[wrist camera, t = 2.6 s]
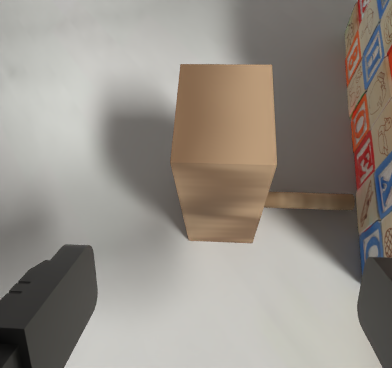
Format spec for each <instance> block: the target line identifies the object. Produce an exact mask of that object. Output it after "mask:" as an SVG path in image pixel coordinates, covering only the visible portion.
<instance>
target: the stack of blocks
mask: <svg viewBox="0 0 392 368" xmlns="http://www.w3.org/2000/svg"><path fill="white" fill-rule="evenodd" d="M345 48H346V59H345V64H346V79H347V98H348V110H349V118H350V119H351V128H352V142H353V152H354V154H355V172H356V184H357V192H356V206H357V221H358V232H359V236H360V256H361V268H362V275H363V270H364V265H365V261H366V259H367V258H368V257H388V258H392V0H358V2H357V3H356V4H355V6H354V9H353V12H352V15H351V17H350V20H349V23H348V26H347V29H346V31H345Z"/></svg>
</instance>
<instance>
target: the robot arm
mask: <svg viewBox="0 0 392 368" xmlns="http://www.w3.org/2000/svg"><path fill="white" fill-rule="evenodd" d="M96 302H97V281H96V272H95V262H94V253H93V249H92V247H91V246H90V245H64V246H62V248H61V249H60V250H59V251H58V252H57V253H56V254H55V255H54V257H53V258H52V259H51V260H45V261H43V262H42V263H40V264H38V265H37V266H35V267H33V268H31V269H30V270H29V271H28V272H27V273H26V274H25V275H24V276H23V277H22V278H21V279H20V280H19V282H18V284H17V283H16V284H15V285H14V286H13V288H12V289H11V290H10V291H9V293H7V294H6V295H5V296H4V297H3V298H2V299H1V300H0V368H64V366H65V365H66V363H67V361H68V359H69V357H70V355H71V353H72V351H73V349H74V348H75V346H76V344H77V342H78V340H79V338H80V336H81V334H82V332H83V330H84V329H85V327H86V325H87V323H88V321H89V319H90V317H91V315H92V313H93V311H94V309H95V306H96ZM357 311H358V318H359V322H360V325H361V327H362V329H363V331H364V333H365V335H366V336H367V338H368V340H369V342H370V344H371V346H372V348H373V350H374V352H375V354H376V355H377V357H378V359H379V361H380V363H381V365H382V367H383V368H392V258H388V257H368V258H367V259H366V261H365V265H364V270H363V275H362V281H361V286H360V292H359V298H358V304H357Z"/></svg>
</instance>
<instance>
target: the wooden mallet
mask: <svg viewBox="0 0 392 368" xmlns="http://www.w3.org/2000/svg"><path fill="white" fill-rule="evenodd" d="M170 164H171V168H172V172H173V176H174V180H175V184H176V189H177V193H178V197H179V201H180V205H181V210H182V214H183V218H184V222H185V226H186V231H187V235H188V239H189V241H211V242H235V243H252V242H253V239H254V236H255V233H256V230H257V227H258V224H259V220H260V217H261V214H262V211H263V208H264V207H266V208H295V209H325V210H353V209H354V206H355V199H354V196H353V194H330V193H297V192H269V189H270V186H271V183H272V180H273V176H274V173H275V170H276V167H277V154H276V134H275V114H274V94H273V74H272V65H224V64H181V65H180V74H179V84H178V93H177V103H176V112H175V122H174V131H173V141H172V151H171V160H170Z"/></svg>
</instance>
